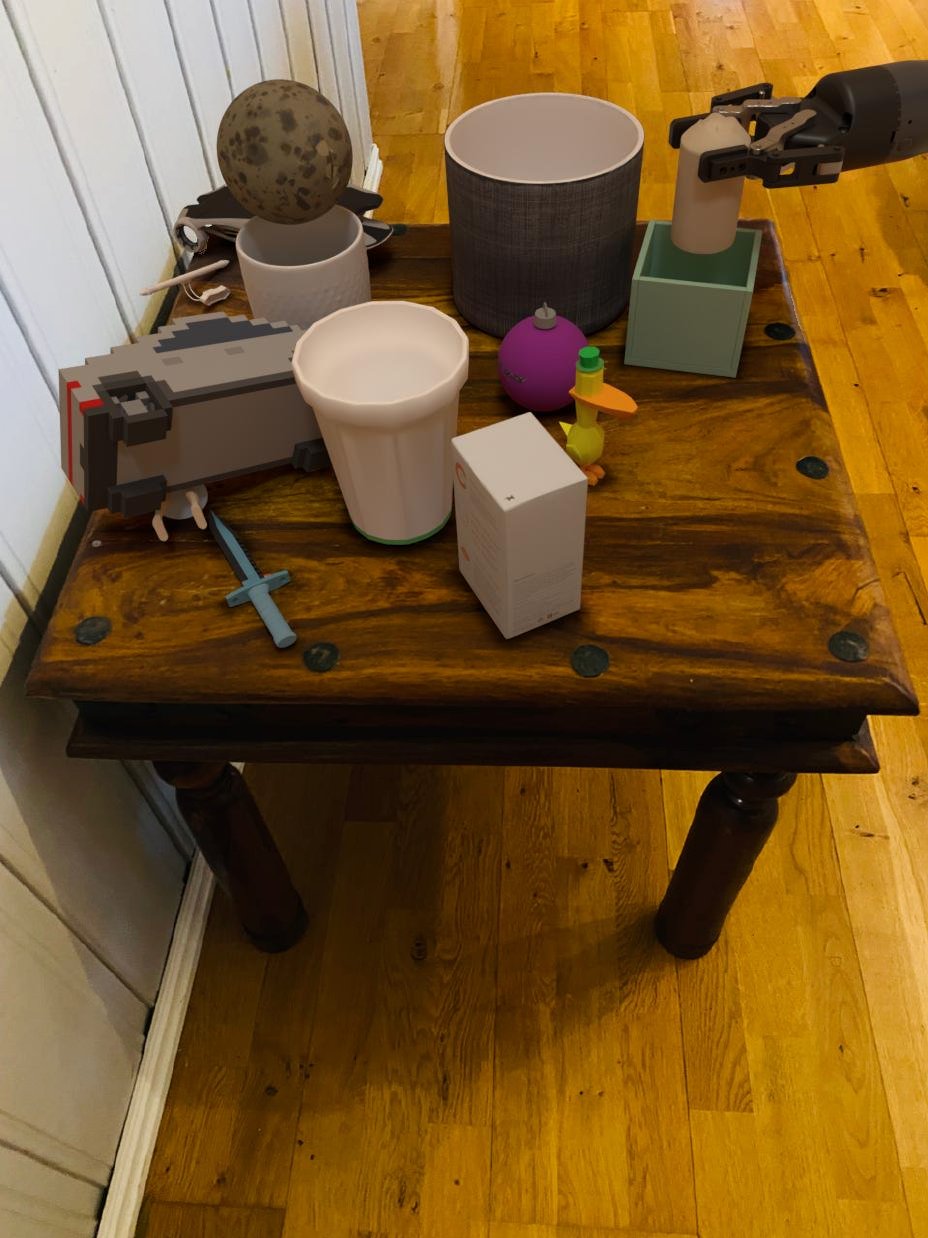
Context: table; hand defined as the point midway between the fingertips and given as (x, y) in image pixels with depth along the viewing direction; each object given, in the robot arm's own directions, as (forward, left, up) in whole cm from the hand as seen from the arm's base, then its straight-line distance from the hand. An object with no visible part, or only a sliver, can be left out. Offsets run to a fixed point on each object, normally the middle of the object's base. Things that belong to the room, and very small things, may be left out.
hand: (686, 150), depth 80 cm
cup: (+17, +27, -18) cm, 37 cm away
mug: (+31, +8, -18) cm, 37 cm away
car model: (+42, -10, -13) cm, 45 cm away
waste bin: (-2, -1, -18) cm, 18 cm away
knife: (+29, +38, -18) cm, 51 cm away
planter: (+13, -6, -18) cm, 23 cm away
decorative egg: (+28, +12, +3) cm, 30 cm away
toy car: (+28, +30, -11) cm, 42 cm away
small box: (+6, +33, -18) cm, 39 cm away
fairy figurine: (+32, +36, -15) cm, 50 cm away
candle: (-2, -1, -8) cm, 9 cm away
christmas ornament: (+9, +11, -18) cm, 23 cm away
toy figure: (+3, +20, -18) cm, 27 cm away
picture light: (+47, +1, -16) cm, 49 cm away
